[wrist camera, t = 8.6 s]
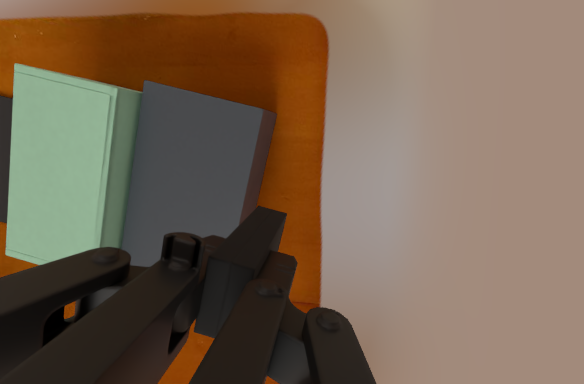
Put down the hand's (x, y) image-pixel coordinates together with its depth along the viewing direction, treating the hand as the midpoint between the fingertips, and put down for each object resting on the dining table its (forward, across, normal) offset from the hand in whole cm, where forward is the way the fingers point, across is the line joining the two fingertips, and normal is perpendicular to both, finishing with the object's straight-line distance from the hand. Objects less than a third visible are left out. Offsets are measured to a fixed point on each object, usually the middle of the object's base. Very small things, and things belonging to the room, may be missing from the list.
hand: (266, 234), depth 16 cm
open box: (+11, -14, -3) cm, 18 cm away
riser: (+16, -9, -3) cm, 18 cm away
